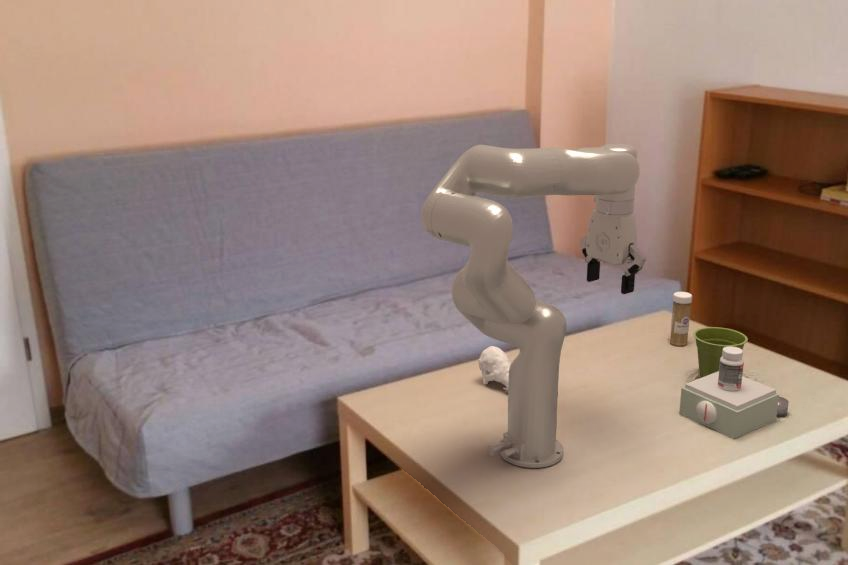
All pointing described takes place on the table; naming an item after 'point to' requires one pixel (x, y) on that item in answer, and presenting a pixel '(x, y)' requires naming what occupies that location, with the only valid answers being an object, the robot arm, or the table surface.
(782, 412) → the spacer
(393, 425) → the table surface
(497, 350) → the white lumpy rounded piece
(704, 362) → the plant pot
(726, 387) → the pill bottle
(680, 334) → the sprinkles bottle
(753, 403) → the scale
